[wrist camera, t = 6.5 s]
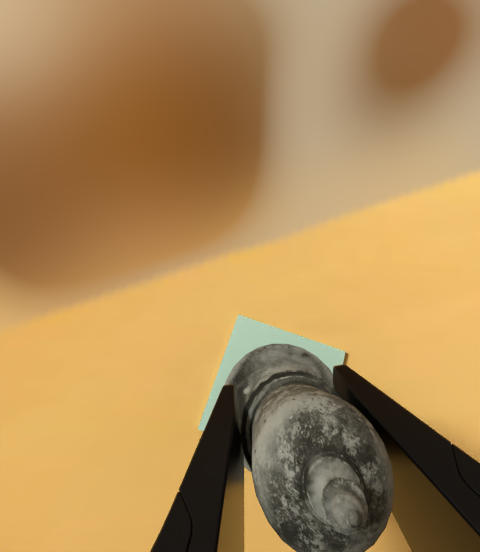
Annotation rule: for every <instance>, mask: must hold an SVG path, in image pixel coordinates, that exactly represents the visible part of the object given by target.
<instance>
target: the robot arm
mask: <svg viewBox="0 0 480 552" xmlns="http://www.w3.org/2000/svg"><path fill="white" fill-rule="evenodd" d="M333 386H334V389H335V390H336V391H337V392H338V393H339V394H340V396H341V397H342V399H343V400H344V401H346V402H348V403H349V404H351V405H353V406H354V407H355V408H356V409H357V410H358V411H359V412H360V413H361V414H362V415H364V416H365V417H366V418H367V419H368V421H369V422H370V423H371V424H372V426H373V427H374V429H375V430H376V432H377V433H378V435H379V437H380V438H381V440H382V441H383V443H384V445H385V448H386V451H387V453H388V456H389V459H390V461H391V466H392V472H393V479H394V495H393V507H392V510H391V511H392V513H393V515H394V517H395V519H396V521H397V523H398V525H399V527H400V529H401V531H402V533H403V535H404V537H405V539H406V540H407V542H408V544H409V546H410V548H411V550H412V552H480V463H479V462H477V461H476V460H475V459H473V458H472V457H470V456H469V455H468V454H466V453H465V452H464V451H462V450H461V449H460V448H458V447H457V446H455V445H454V444H452V445H451V442H450V441H448V440H447V439H446V438H444V437H443V436H442V435H440V434H439V433H438V432H436V431H435V430H434V429H432V428H431V427H429V426H428V425H427V424H425V423H424V422H423V421H421V420H420V419H419V418H417V417H416V416H415V415H413V414H412V413H410V412H409V411H408V410H406V409H405V408H404V407H402V406H401V405H400V404H398V403H397V402H395V401H394V400H393V399H391V398H390V397H389V396H387V395H386V394H385V393H383V392H382V391H381V390H379V389H378V388H376V387H375V386H374V385H372V384H371V383H370V382H368V381H367V380H366V379H364V378H363V377H362V376H360V375H359V374H357V373H356V372H355V371H353V370H352V369H351V368H349V367H348V366H347V365H344V364H342V365H336V366H334V367H333ZM240 428H241V419H240V410H239V402H238V397H237V393H236V388H235V385H234V384H227V385H224V386H223V387H222V389H221V391H220V394H219V396H218V398H217V401H216V403H215V406H214V408H213V410H212V413H211V415H210V417H209V420H208V422H207V424H206V427H205V429H204V431H203V434H202V436H201V439H200V441H199V443H198V446H197V448H196V450H195V453H194V455H193V457H192V460H191V462H190V464H189V467H188V469H187V471H186V474H185V476H184V479H183V481H182V483H181V486H180V488H179V491H180V492H178V493H177V495H176V497H175V499H174V502H173V504H172V507H171V509H170V511H169V513H168V515H167V518H166V520H165V522H164V524H163V527H162V529H161V531H160V533H159V535H158V537H157V539H156V541H155V543H154V545H153V547H152V549H151V551H150V552H244V453H243V449H242V444H241V437H240Z"/></svg>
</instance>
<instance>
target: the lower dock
mask: <svg viewBox="0 0 480 552" xmlns="http://www.w3.org/2000/svg"><path fill="white" fill-rule="evenodd" d="M269 344H290V345H294V346H297V347H301V348H303V349H305V350H307V351H309V352H310V353H312V354H314V355H315V356H317V357H318V358H319V359H320V360H321V361H322V362H323V363H324V364H325V365H326V366H327V367H328V368H329V369H330V370H331V372H332V374H333V367H334V366H336V365H342V364H343V361H344V357H345V351H342V350H339V349H336V348H334V347H331V346H328V345H325V344H322V343H319V342H316V341H313V340H310V339H308V338H305V337H302V336H299V335H296V334H293V333H290V332H287V331H284V330H282V329H279V328H276V327H273V326H270V325H267V324H264V323H261V322H258V321H256V320H253V319H250V318H247V317H244V316H241V315H238V318H237V320H236V323H235V326H234V329H233V332H232V334H231V337H230V340H229V343H228V346H227V349H226V351H225V354H224V357H223V360H222V363H221V365H220V368H219V371H218V374H217V377H216V379H215V382H214V385H213V388H212V391H211V393H210V396H209V399H208V402H207V405H206V407H205V410H204V413H203V416H202V419H201V421H200V424H199V427H198V429H199V430H201V431H204V429H205V427H206V424H207V422H208V420H209V417H210V415H211V413H212V410H213V408H214V406H215V403H216V401H217V398H218V396H219V394H220V391H221V389H222V387H223V386H224V385H225V382H226V379H227V378H228V376H229V374H230V372H231V371H232V369H233V367H234V366H235V365H236V364H237V363H238V362H239V361H240V360H241V359H242V358H243V357H244V356H245V355H246V354H248V353H249V352H251V351H253V350H254V349H256V348H258V347H261V346H265V345H269Z"/></svg>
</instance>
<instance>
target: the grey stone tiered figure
mask: <svg viewBox="0 0 480 552" xmlns="http://www.w3.org/2000/svg"><path fill="white" fill-rule="evenodd" d="M227 384H234V385H235V388H236V393H237V397H238V402H239V410H240V419H241V428H240V437H241V444H242V449H243V453H244V467H245V468H246V469H248V470H249V471H250V472H252V478H253V482H254V487H255V492H256V496H257V498H258V501H259V503H260V505H261V507H262V510H263V512H264V514H265V516H266V518H267V520H268V522H269V524H270V525H271V526H272V528H273V529H274V530H275V532H276V533H277V534H278V535H279V537H280V538H281V539H282V541H284V542H285V543H286V544H287V545H289V546H290V547H291V548H293V549H294V550H295V551H296V552H365V551H366V550H367V549H369V548H370V547H371V546H373V545H374V544H375V542H376V541H377V539H378V538H379V536H380V535H381V533H382V532H383V531H384V529H385V528H386V525H387V522H388V519H389V516H390V513H391V510H392V507H393V495H394V479H393V472H392V466H391V461H390V459H389V456H388V453H387V451H386V448H385V445H384V443H383V441H382V440H381V438H380V437H379V435H378V433H377V432H376V430H375V429H374V427H373V426H372V424H371V423H370V422H369V421H368V419H367V418H366V417H365V416H364V415H362V414H361V413H360V412H359V411H358V410H357V409H356V408H355V407H354V406H353V405H351V404H349V403H348V402H346V401H344V400H343V399H342V397H341V396H340V394H339V393H338V392H337V391H336V390H335V389H334V386H333V374H332V372H331V370H330V369H329V368H328V367H327V366H326V365H325V364H324V363H323V362H322V361H321V360H320V359H319V358H318V357H317V356H315V355H314V354H312V353H310V352H309V351H307V350H305V349H303V348H301V347H297V346H294V345H290V344H269V345H265V346H261V347H258V348H256V349H254V350H253V351H251V352H249V353H248V354H246V355H245V356H244V357H243V358H242V359H241V360H240V361H239V362H238V363H237V364H236V365H235V366H234V367H233V369H232V371H231V372H230V374H229V376H228V378H227V379H226V382H225V385H227Z"/></svg>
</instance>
